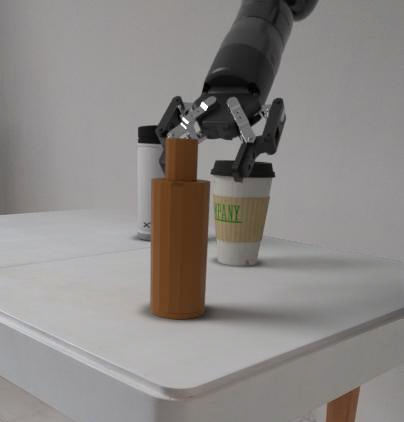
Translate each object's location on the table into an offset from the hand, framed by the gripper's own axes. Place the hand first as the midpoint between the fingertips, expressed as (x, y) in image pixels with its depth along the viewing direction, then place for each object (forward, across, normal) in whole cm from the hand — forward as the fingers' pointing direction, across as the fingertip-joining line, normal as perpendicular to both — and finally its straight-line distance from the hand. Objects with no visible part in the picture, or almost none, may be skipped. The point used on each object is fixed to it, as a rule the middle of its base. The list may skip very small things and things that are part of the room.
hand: (199, 174), depth 62 cm
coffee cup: (-7, +4, -28) cm, 29 cm away
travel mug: (-14, +25, -35) cm, 45 cm away
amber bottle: (+14, 0, -7) cm, 15 cm away
